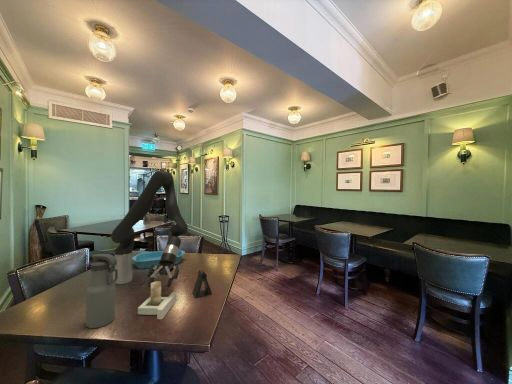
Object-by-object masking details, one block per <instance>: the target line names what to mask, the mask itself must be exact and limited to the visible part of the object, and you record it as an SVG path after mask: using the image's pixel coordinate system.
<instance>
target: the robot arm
mask: <svg viewBox="0 0 512 384" xmlns="http://www.w3.org/2000/svg"><path fill="white" fill-rule="evenodd" d="M147 182H148V183H147V184H146V186H145V188H144V189H143V190H142V192H140V195H139V196H138V198H137V199H136V200H135V202H134V203H133V204H132V205H131V208H130V209H129V210H128V211H127V213H126V215H125V216H124V217H123V219H122V220H121V221H120V222H119V223H118V225H116V226H115V227H114V229H113V231H112V232H111V235H110V238H111V241H112V242H113V243H115V244H119V245H118V246H117V247H116V248H115V249H114V257H115V258H116V260H117V265H115V269H117V270H118V278H117V280H116V281H115V282H114V284H115V285H126V284H128V283H130V282H132V281H133V260H132V257H133V249H134V247H135V237H136V236H135V235H136V234H135V230H134V228H133V227H134V226H135V225H136V224H137V223H139V222H140V221H141V220H143V219H144V218H145V217H146V216H147V215H148V214H149V212H150V211H151V210H152V207H153V205H154V201H155V196H156V194H157V193H158V191H159V190H160V189H161V188H163V191H164V195H165V202H164V203H165V207H164V208H165V212H166V214H167V219H168V220H169V221H170V222H175V224H173V225H171V226H170V228H169V229H168V235H167V238H168V240H167V242H166V244H165V246H164V249H163V250H162V251H163V254H162V256H161V259H160V262H159V265H158V266H154V265H152V266H151V268H149V270H148V273H147V274H146V275H147V277H148V279H149V280H148V283H147V284H148V287H149V288H151V283H152V282H155V279H156V278H157V277H159V276H167V275H168V277H169V278H168V280H167V283H166V288H167V289H169V288H170V287H171V286H172V283H173V280H178V277H179V273H180V269H181V268H180V266H179V265H178V264H176V266H175V261H176V258H177V256H178V251H179V250H180V247H181V243H182V240H181V238H180V237H179V236H183V235H185V234H187V233H188V231H189V229H188V228H189V227H188V224H187V222H186V221H185V219H184V217H183V216H182V214H181V211H180V207H179V203H178V200H177V197H176V196H177V195H176V189H175V181H174V177H173V174H172V173H171V172H169V171H165V170H159V169H158V170H155V172H153V173H152V174H151V177H150V178H149V180H148V181H147ZM172 271H174V274H173V273H172ZM114 279H115V271H114V272H112V281H113V280H114Z"/></svg>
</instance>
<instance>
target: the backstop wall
mask: <svg viewBox="0 0 512 384" xmlns="http://www.w3.org/2000/svg"><path fill="white" fill-rule="evenodd" d="M167 297H168V298H167V299H166V301H165V302H164V303H163V304H162V305H161V306H160V307H159V309H158V310H157V315H156V320H163V318H164V317H165V316H166V315H167V314H168V313H169V311H170V309H171V308H172V307H173V305H174V304H175V303H177V300H178V295H177V291H173V292H171V294H169V296H167Z"/></svg>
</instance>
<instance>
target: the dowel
mask: <svg viewBox="0 0 512 384" xmlns="http://www.w3.org/2000/svg"><path fill="white" fill-rule="evenodd" d="M150 297H151V306H159V305H160V304H161V297H162V281H159V280H158V281H157V280H156V281H155V280H154V282H152V283H151V287H150Z"/></svg>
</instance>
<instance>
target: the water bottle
mask: <svg viewBox="0 0 512 384" xmlns="http://www.w3.org/2000/svg"><path fill="white" fill-rule="evenodd" d="M91 259H92V263H91V264H90V272H91V283H90V284H91V285H89V286H88V287H87V289H86V293H85V297H86V298H85V299H86V300H85V303H86V305H85V306H86V307H85V317H86V318H85V325H86V327H87V328H89V329H97V328H102V327H105V326H107V325H109V324H110V323H112V322H113V321H114V319H115V317H116V284H115V283H114V282H115V281H116V280H117V278H118V270H117V269H115V265H117V260H116V258H115V255H114V254H111V253H96V254H92V255H91ZM114 271H115V279H114V280H113V279H112V280H111V278H112V274H113V272H114Z"/></svg>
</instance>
